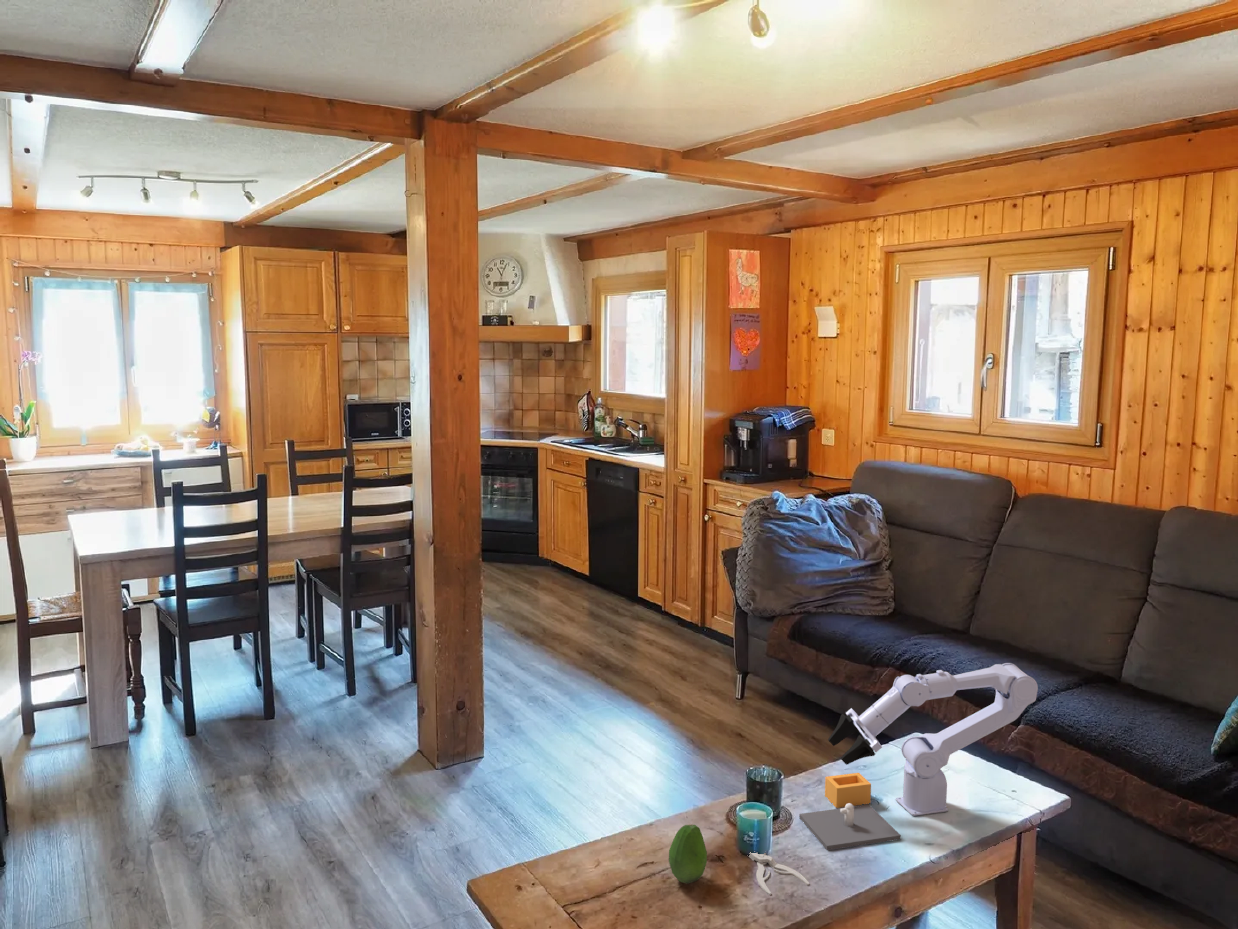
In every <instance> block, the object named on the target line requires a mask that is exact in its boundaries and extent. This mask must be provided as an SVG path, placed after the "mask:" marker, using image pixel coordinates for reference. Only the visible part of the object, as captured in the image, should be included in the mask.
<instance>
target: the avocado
mask: <svg viewBox="0 0 1238 929" xmlns="http://www.w3.org/2000/svg"><path fill="white" fill-rule="evenodd" d="M700 828H701V827H700V826H698V825H696V824H684V825H683V826H682V827H680V828H679V829H678V830H677V832H676V833H675V835H674V837H673V840H672V842H671V845H670V847H669V849H668V864H669V867H670V870H671V873H672V874H673V876H674V877H675V878H676V880H677V881H678V882H681V883H684V884H691V883H695V882H698V880H699V879H701V878H702V876H703V875H704V873H705V869H706V866H707V863H708V859H707V858H708V851H707V847H706V844H705V840H704V837H703V833H702V831H701V829H700Z"/></svg>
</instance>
